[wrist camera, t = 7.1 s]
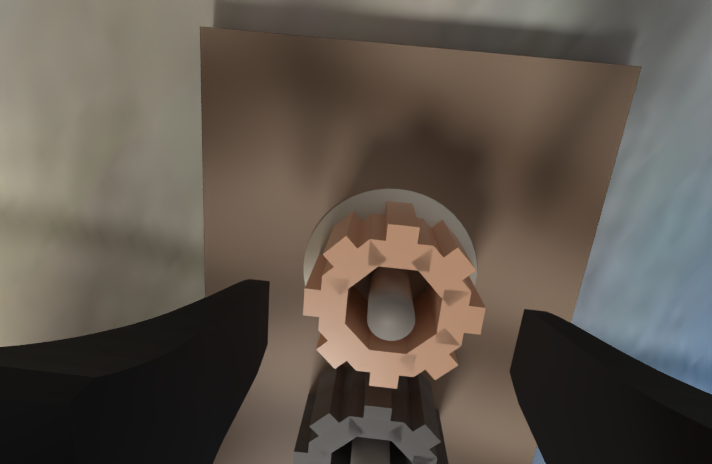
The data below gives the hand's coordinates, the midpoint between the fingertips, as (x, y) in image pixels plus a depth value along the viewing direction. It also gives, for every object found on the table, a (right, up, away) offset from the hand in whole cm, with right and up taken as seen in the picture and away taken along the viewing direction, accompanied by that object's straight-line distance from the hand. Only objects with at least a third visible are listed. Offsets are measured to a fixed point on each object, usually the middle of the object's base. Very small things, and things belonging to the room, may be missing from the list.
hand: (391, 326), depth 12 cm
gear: (0, +1, +4) cm, 4 cm away
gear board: (0, -1, +5) cm, 5 cm away
